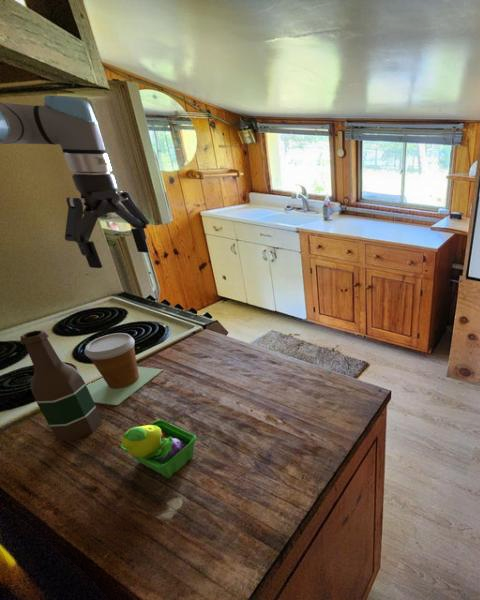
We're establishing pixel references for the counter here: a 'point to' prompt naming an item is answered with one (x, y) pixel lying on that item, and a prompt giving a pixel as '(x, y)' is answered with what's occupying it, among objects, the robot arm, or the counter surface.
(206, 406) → the counter surface
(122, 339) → the disposable coffee cup
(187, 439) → the fruit basket
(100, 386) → the mat
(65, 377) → the beer bottle
